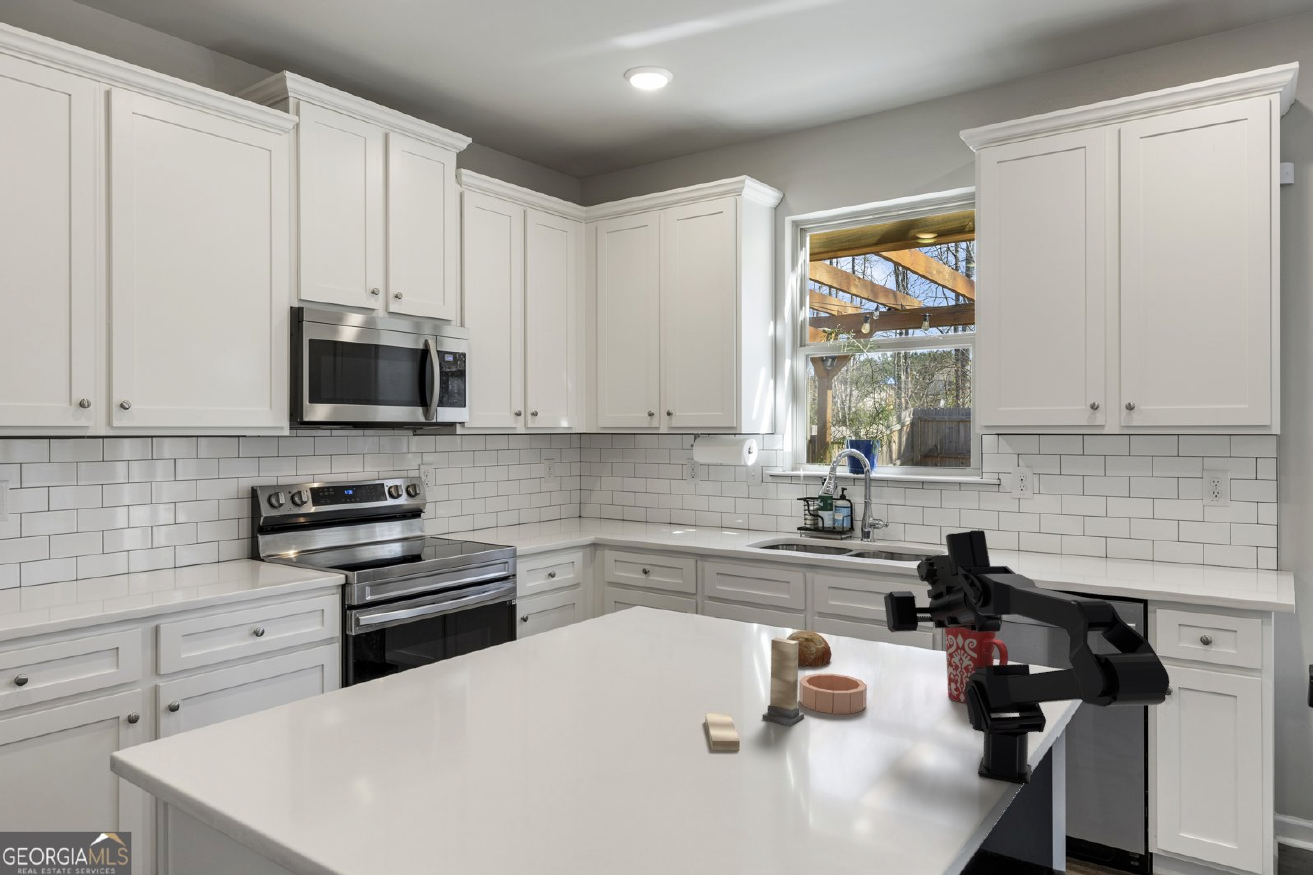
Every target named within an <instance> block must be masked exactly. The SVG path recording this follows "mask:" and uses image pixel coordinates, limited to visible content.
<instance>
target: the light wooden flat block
mask: <svg viewBox="0 0 1313 875" xmlns="http://www.w3.org/2000/svg"><path fill="white" fill-rule="evenodd" d="M704 717H705V719H704V720H705V721H704V722H705V726H706V730H707V734H708V737H709V738H708V739H709V742H710V746H711V750H713V751H740V748H741V746H740V743H741V741H740V737H739V735H738V732H737V730H736V726H735V724H734V721H733V718H732V715H731V713H715V712H714V713H713V712H711V713H710V712H708V713H705V716H704Z"/></svg>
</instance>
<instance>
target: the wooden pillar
mask: <svg viewBox="0 0 1313 875" xmlns="http://www.w3.org/2000/svg"><path fill="white" fill-rule="evenodd" d="M798 644H799V642H798V641H792V640H787V638H781V637H775V638H772V639H771V644H770V645H771V648H770V652H771V653H770V686H769V688H770V693H769V705H767V711H766V712H764V713H763V714H762V715H761V716H762V718H761V719H762V720H763V721H766V722H767V721H768V722H771V723H775V724H780V725H784V726H787V727H791V726H793V725H795V724H796V723H798V722H800V721H801V720H804V719H805V712H801V711H800V706H798V693H799V690H798V689H799V688H798V683H799V681H798V680H799V678H798V677H799V666H798Z"/></svg>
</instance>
